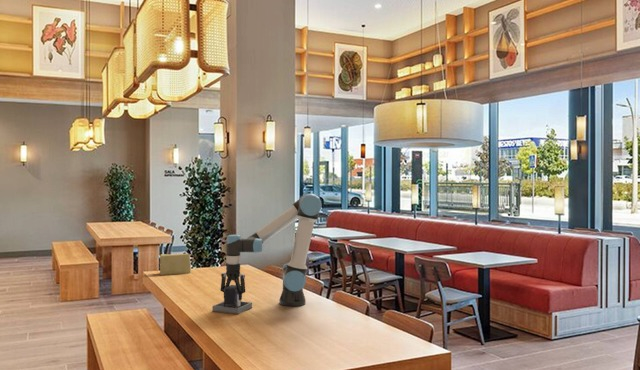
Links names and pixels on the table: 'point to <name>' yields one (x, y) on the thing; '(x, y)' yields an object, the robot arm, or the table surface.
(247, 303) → the tray
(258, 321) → the table surface
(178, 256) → the olive rectangular block
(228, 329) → the table surface
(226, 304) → the small box
